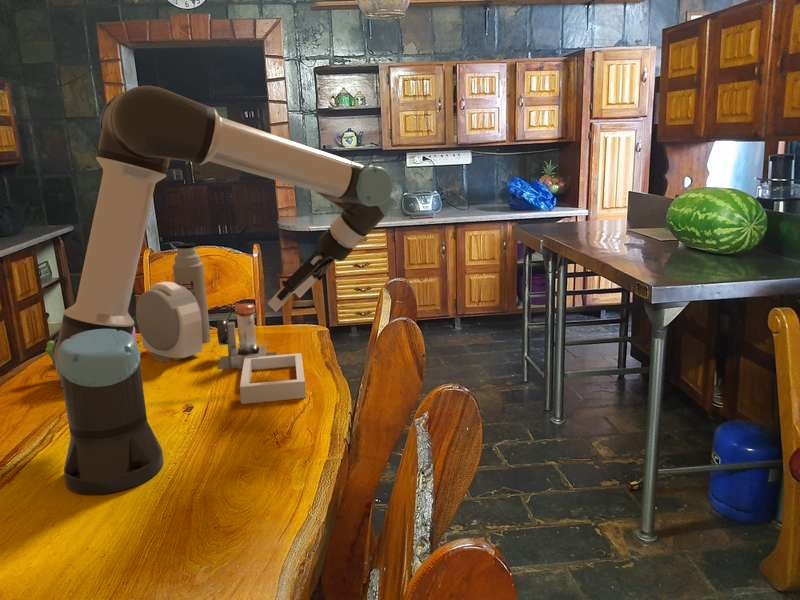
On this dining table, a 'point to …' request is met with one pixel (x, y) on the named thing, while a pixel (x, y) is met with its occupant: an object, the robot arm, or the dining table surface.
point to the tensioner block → (234, 347)
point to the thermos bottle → (192, 281)
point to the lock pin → (246, 328)
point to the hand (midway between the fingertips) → (284, 300)
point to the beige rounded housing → (169, 322)
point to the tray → (275, 388)
